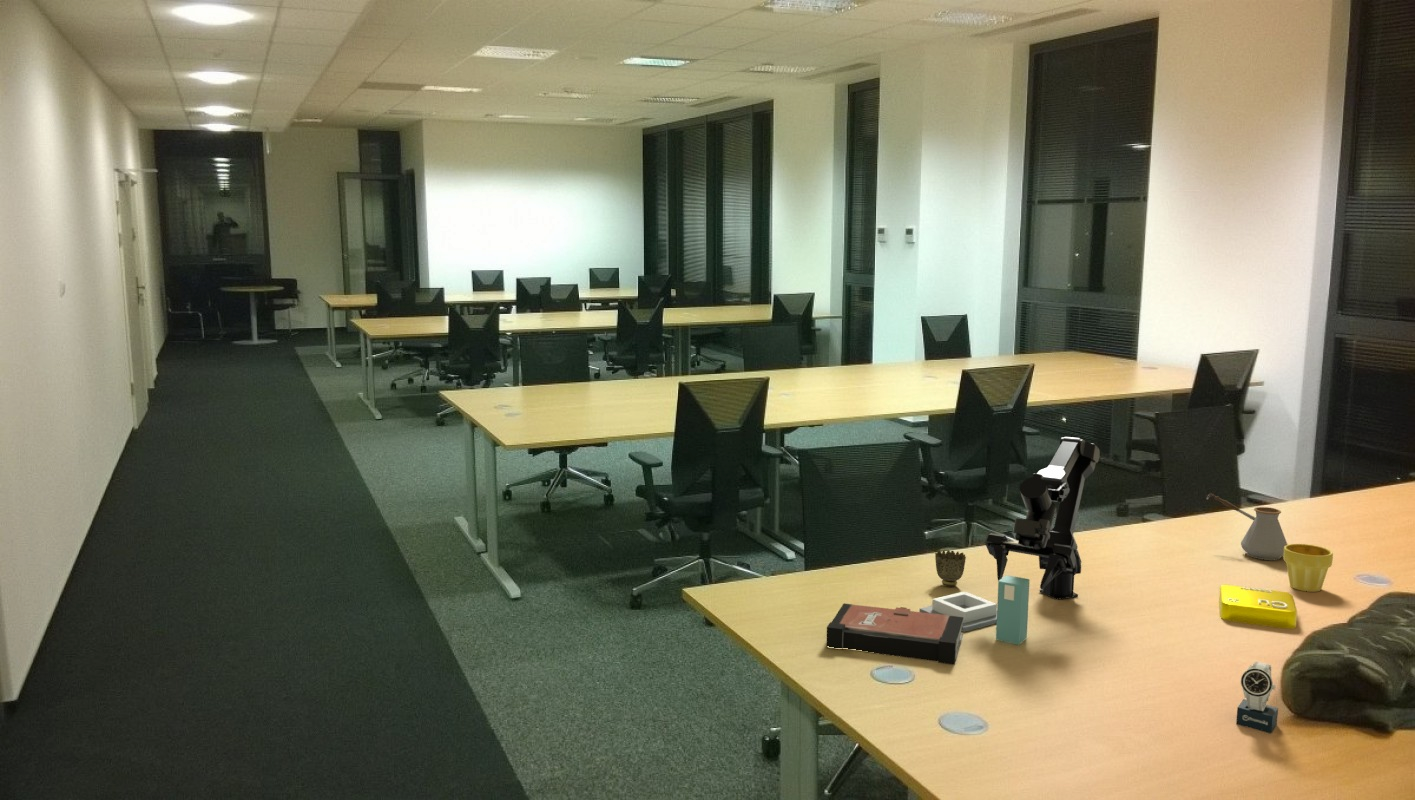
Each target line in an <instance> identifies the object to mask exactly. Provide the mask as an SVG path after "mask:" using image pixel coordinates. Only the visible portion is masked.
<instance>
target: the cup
mask: <svg viewBox="0 0 1415 800" xmlns="http://www.w3.org/2000/svg"><path fill="white" fill-rule="evenodd" d="M934 555H935V558H934V560H935V569H936V574H937V576H938V577H939V578H940V579H941V584H942V585H943V586H944V587H947V588H955V587H956V586H957V585H958V581H959V580H960V579H961V578H962V577H963V574H964V571H965V566H966V559H967V556H966V554H964V552H960V551H956V553H955V552H954V550H947V551H945V550H942V551H940V550H938V551H936V552H935V553H934Z"/></svg>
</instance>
